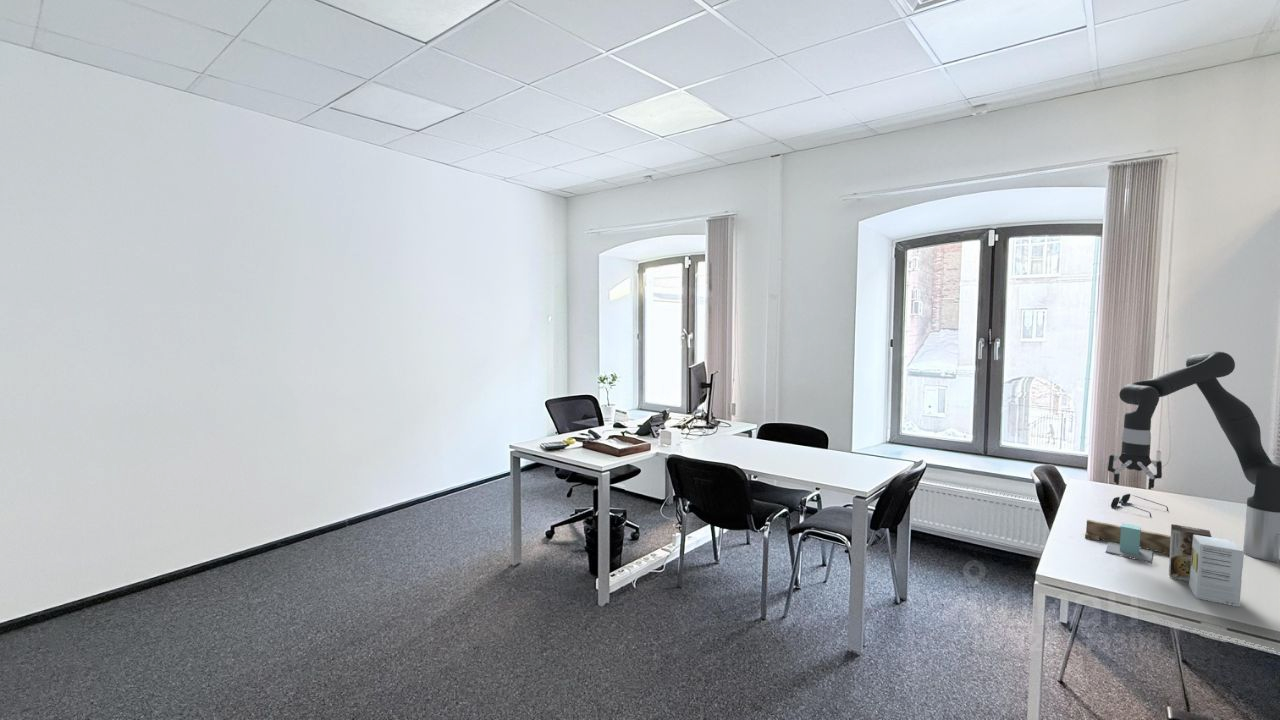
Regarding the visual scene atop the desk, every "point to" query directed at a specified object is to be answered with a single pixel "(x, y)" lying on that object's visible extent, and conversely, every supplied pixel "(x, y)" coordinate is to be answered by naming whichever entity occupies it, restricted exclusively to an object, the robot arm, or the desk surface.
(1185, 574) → the coffee box
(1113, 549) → the grey mat
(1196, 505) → the desk surface
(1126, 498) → the sunglasses
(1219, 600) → the supplement box
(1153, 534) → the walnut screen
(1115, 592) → the desk surface
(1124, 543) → the teal block
